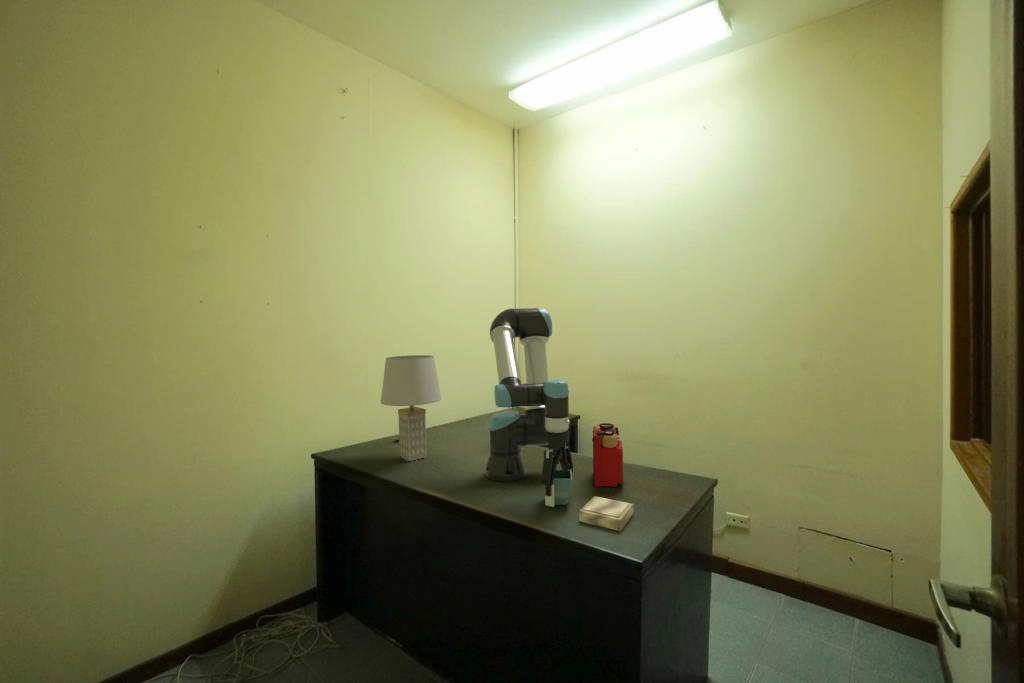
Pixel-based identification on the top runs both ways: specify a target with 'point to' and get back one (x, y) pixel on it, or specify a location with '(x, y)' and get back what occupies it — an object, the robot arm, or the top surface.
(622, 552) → the top surface
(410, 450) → the lamp
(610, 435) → the red mechanical box
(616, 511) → the oak stand
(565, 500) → the flower pot
